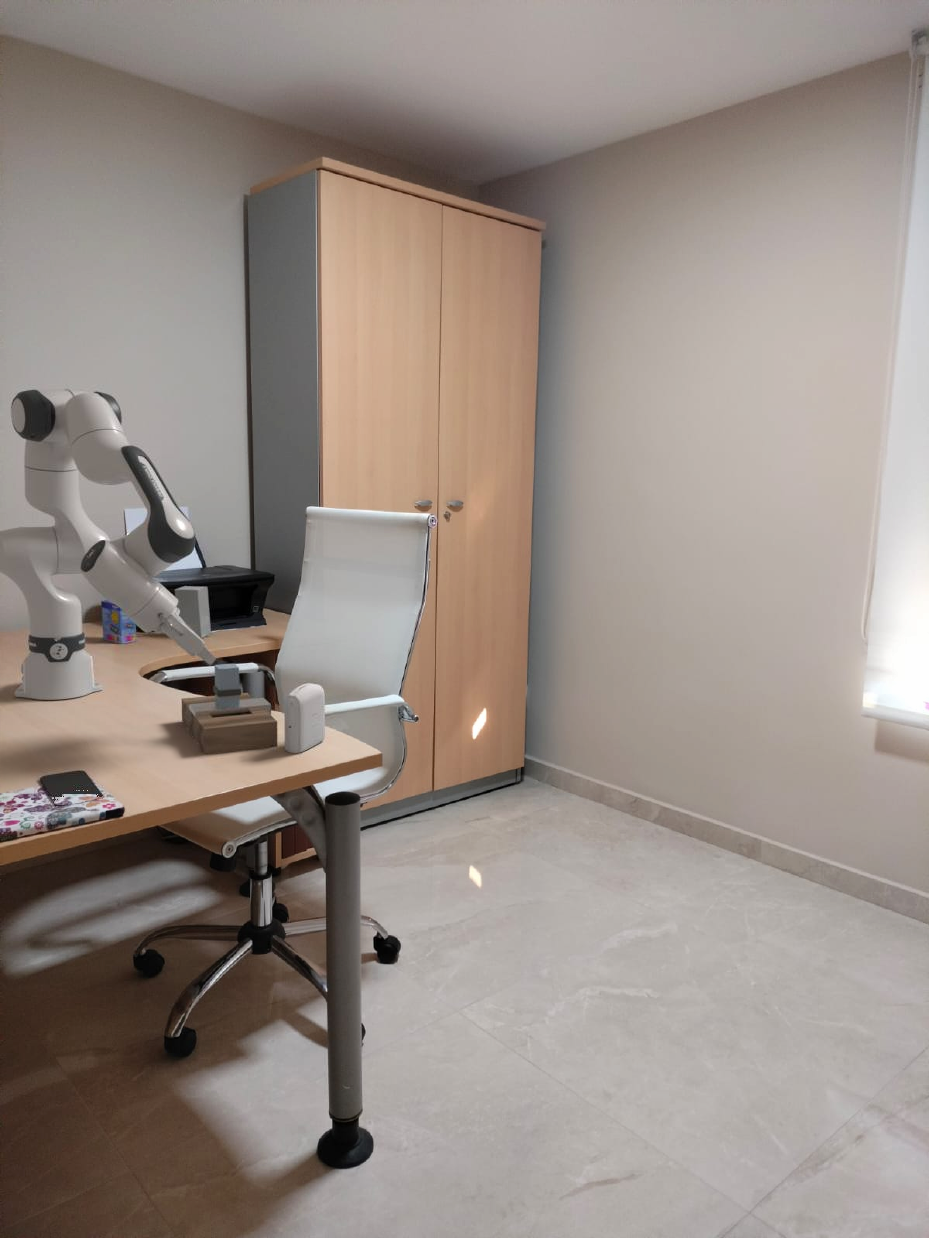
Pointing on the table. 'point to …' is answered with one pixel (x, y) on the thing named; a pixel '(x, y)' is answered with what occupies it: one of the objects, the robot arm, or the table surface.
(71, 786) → the phone
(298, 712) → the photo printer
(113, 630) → the ink cartridge box
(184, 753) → the table surface
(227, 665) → the blue-gray rectangular block
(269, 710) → the white rectangular bar
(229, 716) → the brown tissue box
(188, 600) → the skincare box
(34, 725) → the table surface
